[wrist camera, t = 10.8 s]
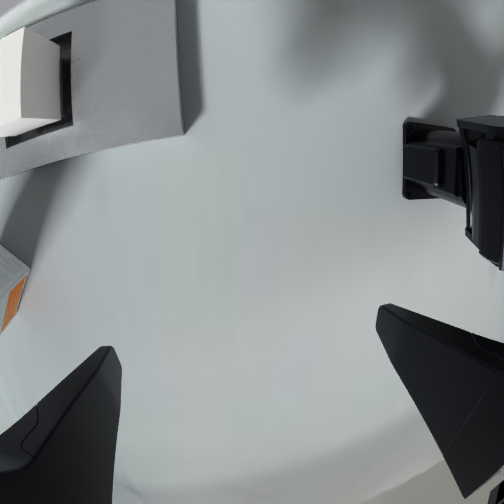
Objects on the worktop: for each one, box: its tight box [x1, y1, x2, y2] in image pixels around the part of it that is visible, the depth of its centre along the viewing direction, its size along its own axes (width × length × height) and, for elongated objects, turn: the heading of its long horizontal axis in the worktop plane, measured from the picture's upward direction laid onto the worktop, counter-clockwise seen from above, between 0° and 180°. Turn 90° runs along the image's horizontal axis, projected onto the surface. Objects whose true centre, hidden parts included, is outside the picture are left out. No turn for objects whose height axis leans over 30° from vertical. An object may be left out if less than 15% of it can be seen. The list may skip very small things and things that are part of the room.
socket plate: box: [0, 0, 184, 180], centre depth 14 cm, size 16×11×2 cm
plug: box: [0, 27, 64, 137], centre depth 12 cm, size 4×6×6 cm
